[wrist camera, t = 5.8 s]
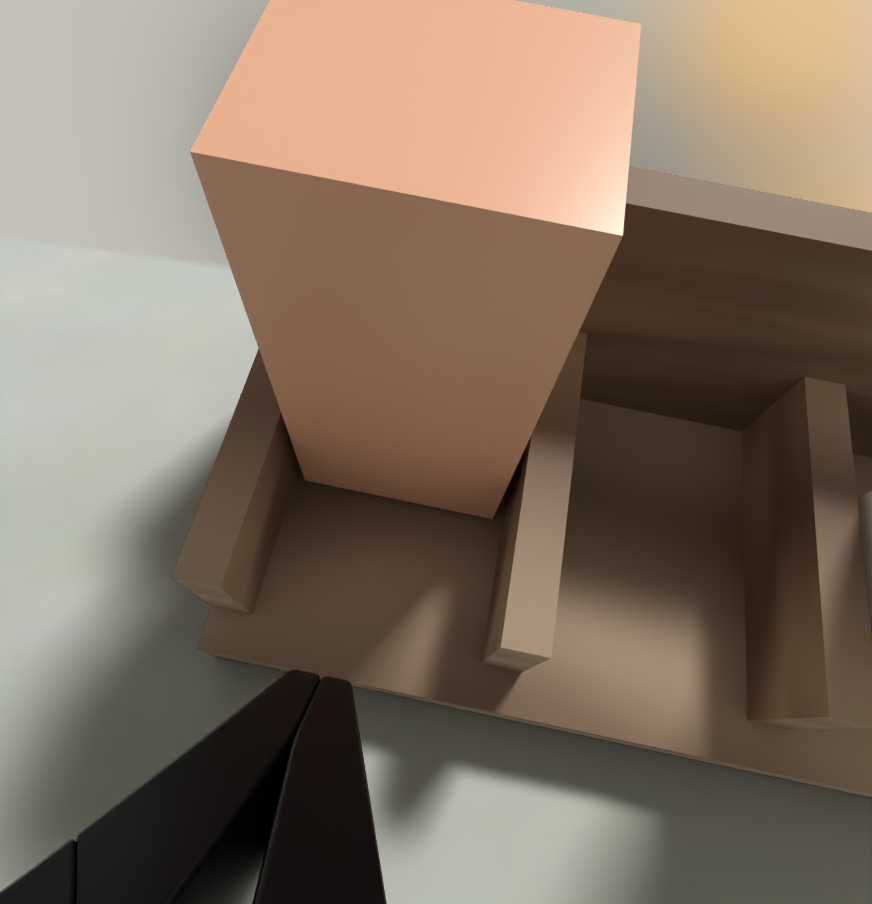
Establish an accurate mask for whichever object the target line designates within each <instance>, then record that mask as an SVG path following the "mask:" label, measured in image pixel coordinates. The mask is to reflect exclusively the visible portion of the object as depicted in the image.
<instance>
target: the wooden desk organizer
mask: <svg viewBox="0 0 872 904" xmlns="http://www.w3.org/2000/svg"><path fill="white" fill-rule="evenodd" d="M871 491H872V213H870V212H865V211H860V210H854V209H849V208H844V207H838V206H833V205H827V204H822V203H818V202H813V201H807V200H802V199H797V198H792V197H786V196H781V195H776V194H771V193H765V192H760V191H755V190H750V189H744V188H739V187H734V186H728V185H724V184H719V183H713V182H708V181H703V180H697V179H692V178H687V177H682V176H677V175H672V174H666V173H661V172H656V171H651V170H646V169H640V168H635V167H630V166H629V171H628V182H627V194H626V205H625V217H624V228H623V237H622V239H621V241H620V243H619V245H618V247H617V250H616V252H615V254H614V256H613V258H612V261H611V263H610V265H609V267H608V269H607V271H606V274H605V276H604V278H603V280H602V282H601V284H600V287H599V289H598V291H597V293H596V295H595V297H594V300H593V302H592V304H591V306H590V308H589V311H588V313H587V315H586V317H585V319H584V321H583V324H582V326H581V328H580V330H579V332H578V334H577V337H576V339H575V341H574V343H573V345H572V348H571V350H570V352H569V354H568V356H567V358H566V361H565V363H564V365H563V367H562V369H561V371H560V374H559V376H558V378H557V380H556V382H555V384H554V387H553V389H552V391H551V393H550V395H549V398H548V400H547V402H546V404H545V406H544V408H543V411H542V413H541V415H540V417H539V419H538V421H537V424H536V426H535V428H534V430H533V432H532V434H531V437H530V439H529V441H528V443H527V445H526V448H525V450H524V452H523V454H522V456H521V458H520V461H519V463H518V465H517V467H516V469H515V471H514V474H513V476H512V478H511V480H510V482H509V485H508V487H507V489H506V491H505V493H504V495H503V498H502V500H501V502H500V504H499V506H498V508H497V511H496V513H495V515H494V517H493V519H489V518H484V517H479V516H474V515H470V514H465V513H460V512H455V511H450V510H445V509H441V508H436V507H431V506H426V505H421V504H417V503H412V502H407V501H402V500H397V499H392V498H388V497H383V496H378V495H373V494H368V493H363V492H359V491H354V490H349V489H344V488H339V487H334V486H330V485H325V484H320V483H315V482H310V481H305V479H304V476H303V473H302V471H301V468H300V465H299V462H298V459H297V456H296V453H295V451H294V448H293V445H292V442H291V439H290V436H289V433H288V430H287V428H286V425H285V422H284V419H283V416H282V413H281V410H280V408H279V405H278V402H277V399H276V396H275V393H274V390H273V388H272V385H271V382H270V379H269V376H268V373H267V370H266V367H265V365H264V362H263V359H262V356H261V353H260V350H259V349H258V352H257V355H256V357H255V360H254V362H253V365H252V368H251V370H250V373H249V375H248V378H247V381H246V383H245V386H244V388H243V391H242V394H241V396H240V399H239V401H238V404H237V407H236V409H235V412H234V414H233V417H232V420H231V422H230V425H229V427H228V430H227V433H226V435H225V438H224V440H223V443H222V446H221V448H220V451H219V453H218V456H217V459H216V461H215V464H214V466H213V469H212V472H211V474H210V477H209V479H208V482H207V485H206V487H205V490H204V492H203V495H202V498H201V500H200V503H199V505H198V508H197V511H196V513H195V516H194V518H193V521H192V524H191V526H190V529H189V531H188V534H187V537H186V539H185V542H184V544H183V547H182V550H181V552H180V555H179V557H178V560H177V563H176V565H175V568H174V570H173V573H172V576H171V578H173V579H174V580H175V581H177V582H178V583H180V584H181V585H182V586H184V587H185V588H187V589H188V590H190V591H191V592H192V593H194V594H195V595H197V596H198V597H199V598H201V599H202V600H204V601H205V602H207V603H208V604H209V605H211V606H212V607H211V610H210V613H209V616H208V619H207V622H206V624H205V627H204V630H203V633H202V636H201V639H200V642H199V644H198V647H197V649H199V650H201V651H204V652H206V653H208V654H210V655H213V656H216V657H221V658H225V659H230V660H235V661H239V662H244V663H249V664H253V665H258V666H263V667H267V668H272V669H277V670H281V671H286V672H289V671H291V670H293V669H297V670H302V671H307V672H311V673H316V674H318V675H319V676H320V678H321V679H322V678H323V677H324V676H330V677H335V678H339V679H344V680H348V681H349V682H350V683H351V685H352V686H356V687H360V688H365V689H369V690H374V691H379V692H383V693H388V694H393V695H397V696H402V697H407V698H411V699H416V700H421V701H425V702H430V703H435V704H439V705H444V706H448V707H453V708H458V709H462V710H467V711H472V712H476V713H481V714H486V715H490V716H495V717H500V718H504V719H509V720H514V721H518V722H523V723H527V724H532V725H537V726H541V727H546V728H551V729H555V730H560V731H565V732H569V733H574V734H579V735H583V736H588V737H593V738H597V739H602V740H606V741H611V742H616V743H620V744H625V745H630V746H634V747H639V748H644V749H648V750H653V751H658V752H662V753H667V754H672V755H676V756H681V757H685V758H690V759H695V760H699V761H704V762H709V763H713V764H718V765H723V766H727V767H732V768H737V769H741V770H746V771H751V772H755V773H760V774H764V775H769V776H774V777H778V778H783V779H788V780H792V781H797V782H802V783H806V784H811V785H816V786H820V787H825V788H830V789H834V790H839V791H843V792H848V793H853V794H857V795H862V796H867V797H871V798H872V634H871V625H870V615H869V605H868V596H867V586H866V577H865V567H864V558H863V548H862V539H861V529H860V520H859V510H858V500H857V498H859V497H861V496H863V495H865V494H867V493H869V492H871Z"/></svg>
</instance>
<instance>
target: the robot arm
mask: <svg viewBox="0 0 872 904" xmlns="http://www.w3.org/2000/svg"><path fill="white" fill-rule="evenodd" d="M0 904H387V903H386V897H385V890H384V884H383V878H382V871H381V865H380V859H379V853H378V846H377V840H376V834H375V827H374V821H373V815H372V809H371V802H370V796H369V790H368V783H367V777H366V771H365V765H364V758H363V752H362V746H361V739H360V733H359V727H358V721H357V714H356V708H355V702H354V695H353V689H352V685H351V683H350V682H349V681H348V680H344V679H339V678H335V677H330V676H324V677H323V678H322V679H321V678H320V676H319V675H318V674H316V673H311V672H307V671H302V670H297V669H293V670H291V671H289V672H288V673H286V674H285V675H284V676H282V677H281V678H280V679H278V680H277V681H276V682H275V683H273V684H272V685H271V686H269V687H268V688H267V689H265V690H264V691H263V692H262V693H260V694H259V695H258V696H256V697H255V698H254V699H252V700H251V701H250V702H249V703H247V704H246V705H245V706H243V707H242V708H241V709H239V710H238V711H237V712H236V713H234V714H233V715H232V716H230V717H229V718H228V719H226V720H225V721H224V722H223V723H221V724H220V725H219V726H217V727H216V728H215V729H213V730H212V731H211V732H210V733H208V734H207V735H206V736H204V737H203V738H202V739H200V740H199V741H198V742H197V743H195V744H194V745H193V746H191V747H190V748H189V749H187V750H186V751H185V752H184V753H182V754H181V755H180V756H178V757H177V758H176V759H174V760H173V761H172V762H171V763H169V764H168V765H167V766H165V767H164V768H163V769H161V770H160V771H159V772H158V773H156V774H155V775H154V776H152V777H151V778H150V779H148V780H147V781H146V782H145V783H143V784H142V785H141V786H139V787H138V788H137V789H135V790H134V791H133V792H132V793H130V794H129V795H128V796H126V797H125V798H124V799H122V800H121V801H120V802H119V803H117V804H116V805H115V806H113V807H112V808H111V809H109V810H108V811H107V812H106V813H104V814H103V815H102V816H100V817H99V818H98V819H96V820H95V821H94V822H93V823H91V824H90V825H89V826H87V827H86V828H85V829H83V830H82V831H81V832H80V833H78V834H77V836H76V842H75V840H72V839H71V840H69V841H67V842H66V843H65V844H63V845H62V846H61V847H60V848H58V849H57V850H56V851H54V852H53V853H52V854H50V855H49V856H48V857H47V858H45V859H44V860H43V861H41V862H40V863H39V864H37V865H36V866H35V867H33V868H32V869H31V870H29V871H28V872H27V873H25V874H24V875H22V876H21V877H20V878H18V879H17V880H16V881H14V882H13V883H12V884H10V885H9V886H7V887H6V888H5V889H3V890H2V891H1V892H0Z"/></svg>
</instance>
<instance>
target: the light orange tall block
mask: <svg viewBox="0 0 872 904" xmlns="http://www.w3.org/2000/svg"><path fill="white" fill-rule="evenodd" d="M640 33H641V24H639V23H634V22H628V21H623V20H617V19H612V18H606V17H601V16H596V15H590V14H585V13H580V12H575V11H569V10H563V9H558V8H553V7H548V6H542V5H537V4H531V3H526V2H520V1H515V0H270V2H269V4H268V6H267V7H266V9H265V11H264V13H263V15H262V17H261V19H260V21H259V23H258V24H257V27H256V28H255V30H254V32H253V34H252V36H251V38H250V40H249V41H248V43H247V46H246V47H245V49H244V51H243V53H242V55H241V57H240V58H239V60H238V62H237V64H236V66H235V68H234V70H233V72H232V74H231V75H230V77H229V79H228V81H227V83H226V85H225V87H224V89H223V91H222V93H221V94H220V96H219V98H218V100H217V102H216V104H215V106H214V108H213V110H212V111H211V113H210V115H209V117H208V119H207V121H206V123H205V125H204V126H203V128H202V130H201V132H200V134H199V136H198V138H197V140H196V142H195V143H194V145H193V147H192V149H191V151H190V152H191V155H192V158H193V161H194V164H195V167H196V170H197V172H198V176H199V178H200V181H201V184H202V187H203V190H204V193H205V195H206V198H207V201H208V204H209V207H210V210H211V213H212V215H213V219H214V221H215V224H216V227H217V230H218V233H219V236H220V239H221V241H222V244H223V247H224V250H225V253H226V256H227V259H228V261H229V264H230V267H231V270H232V273H233V276H234V279H235V282H236V284H237V287H238V290H239V293H240V296H241V299H242V302H243V304H244V307H245V310H246V313H247V316H248V319H249V322H250V324H251V327H252V330H253V333H254V336H255V339H256V342H257V345H258V347H259V350H260V353H261V356H262V359H263V362H264V365H265V367H266V370H267V373H268V376H269V379H270V382H271V385H272V388H273V390H274V393H275V396H276V399H277V402H278V405H279V408H280V410H281V413H282V416H283V419H284V422H285V425H286V428H287V430H288V433H289V436H290V439H291V442H292V445H293V448H294V451H295V453H296V456H297V459H298V462H299V465H300V468H301V471H302V473H303V476H304V479H305V481H310V482H315V483H320V484H325V485H330V486H334V487H339V488H344V489H349V490H354V491H359V492H363V493H368V494H373V495H378V496H383V497H388V498H392V499H397V500H402V501H407V502H412V503H417V504H421V505H426V506H431V507H436V508H441V509H445V510H450V511H455V512H460V513H465V514H470V515H474V516H479V517H484V518H489V519H493V517H494V515H495V513H496V511H497V508H498V506H499V504H500V502H501V500H502V498H503V495H504V493H505V491H506V489H507V487H508V485H509V482H510V480H511V478H512V476H513V474H514V471H515V469H516V467H517V465H518V463H519V461H520V458H521V456H522V454H523V452H524V450H525V448H526V445H527V443H528V441H529V439H530V437H531V434H532V432H533V430H534V428H535V426H536V424H537V421H538V419H539V417H540V415H541V413H542V411H543V408H544V406H545V404H546V402H547V400H548V398H549V395H550V393H551V391H552V389H553V387H554V384H555V382H556V380H557V378H558V376H559V374H560V371H561V369H562V367H563V365H564V363H565V361H566V358H567V356H568V354H569V352H570V350H571V348H572V345H573V343H574V341H575V339H576V337H577V334H578V332H579V330H580V328H581V326H582V324H583V321H584V319H585V317H586V315H587V313H588V311H589V308H590V306H591V304H592V302H593V300H594V297H595V295H596V293H597V291H598V289H599V287H600V284H601V282H602V280H603V278H604V276H605V274H606V271H607V269H608V267H609V265H610V263H611V261H612V258H613V256H614V254H615V252H616V250H617V247H618V245H619V243H620V241H621V239H622V237H623V228H624V217H625V205H626V194H627V182H628V171H629V159H630V148H631V136H632V125H633V113H634V102H635V91H636V79H637V67H638V56H639V43H640Z"/></svg>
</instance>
